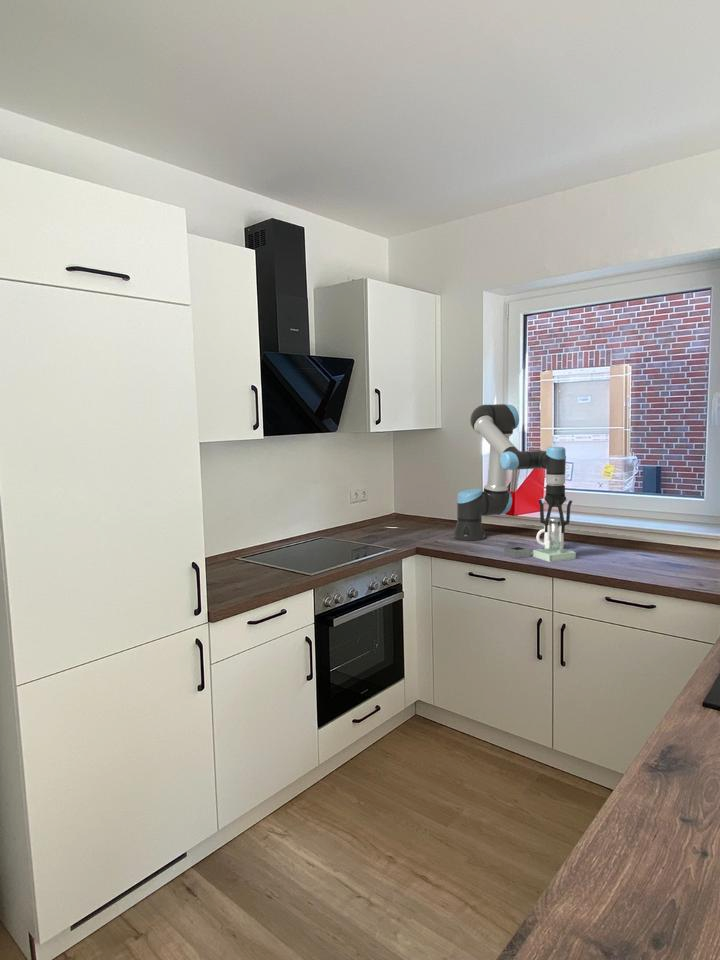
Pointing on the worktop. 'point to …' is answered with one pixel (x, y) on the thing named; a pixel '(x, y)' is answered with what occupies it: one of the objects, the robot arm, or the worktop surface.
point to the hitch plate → (517, 551)
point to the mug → (546, 543)
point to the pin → (554, 533)
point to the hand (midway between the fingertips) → (554, 540)
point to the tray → (554, 554)
